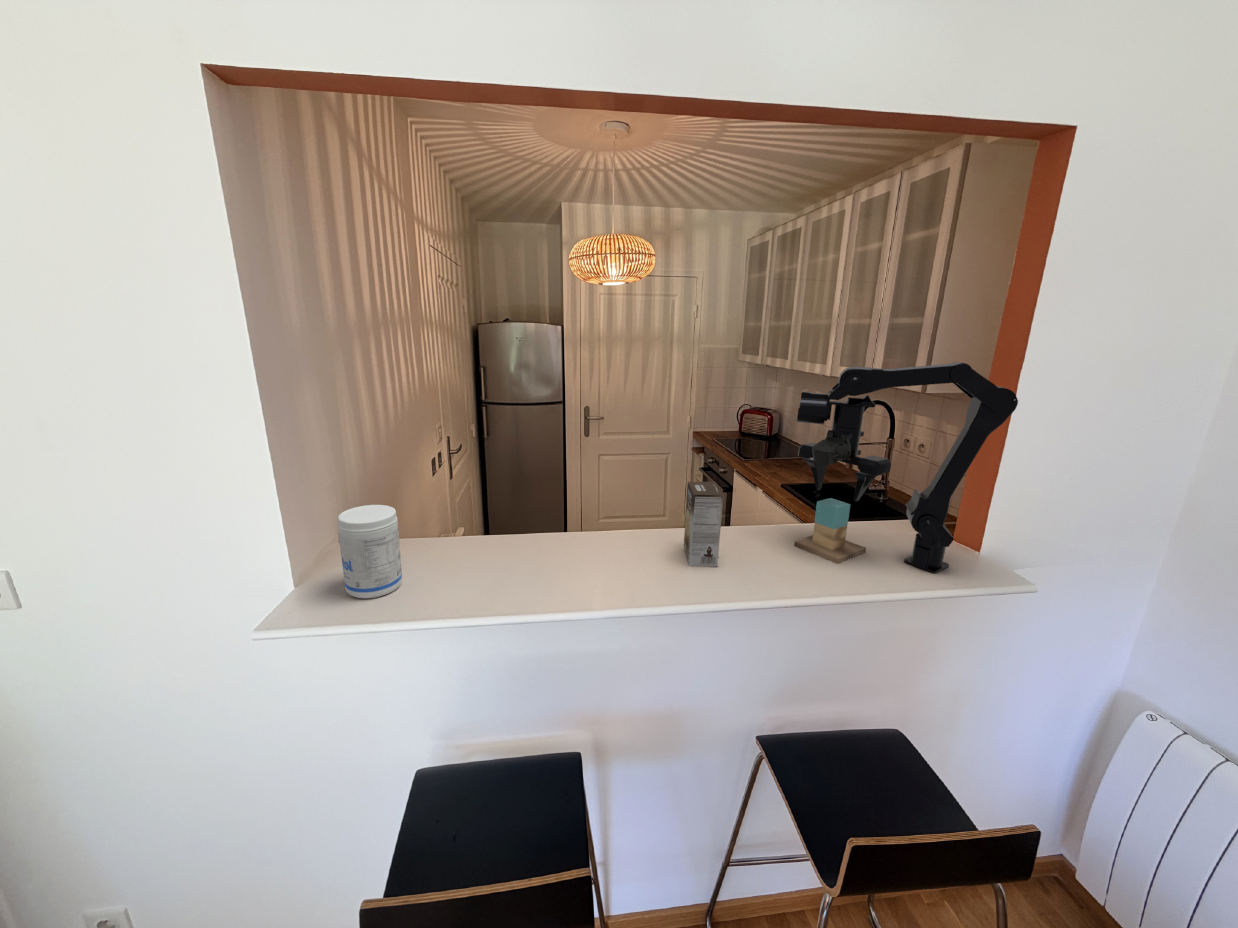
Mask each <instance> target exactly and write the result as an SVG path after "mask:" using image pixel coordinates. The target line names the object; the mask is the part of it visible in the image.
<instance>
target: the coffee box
mask: <svg viewBox="0 0 1238 928" xmlns="http://www.w3.org/2000/svg"><path fill="white" fill-rule="evenodd" d="M686 488H687V490H686V501H685V502H686V504H685V505H686V506H685V518H684V519H685V520H684V522H685V523H684V533H683V535H684V536H683V550H684V553H685V558H686V561H687V564H688V566H689V567H697V568H698V567H699V568H700V567H702V568H703V567H704V568H705V567H708V568H709V567H711V568H712V567H713V568H717V567H718V561H719V551H720V550H719V549H720V540H721V530H722V529H721V528H722V518H723V507H724V494H723V491H721V489H720V487H719V485H718V483H717V482H716V481H687V487H686Z"/></svg>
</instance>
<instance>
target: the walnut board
mask: <svg viewBox="0 0 1238 928" xmlns="http://www.w3.org/2000/svg"><path fill="white" fill-rule="evenodd" d="M812 540H813V534H812V535H810V536H806V537H803V538H800V539H798V540H795V541H793V542H794V543H793V547H796V548H798V549H801V550H803V551H805V552H808V553H810V554H811V555H814V554H815V555H814V556H817V555H818V556H817V557H819V556H820V557H819V558H822V559H824V560H827V561H829V562H831V561H832V563H834V564H837V565H839V564H842V563H843V561H844V562H846V561H848V559H849V560H851V559H854V558H856V557H858V556H860V554H861V555H863V554H865V553H866V551H867V548H866V547H865V546H863V545H859V544H857V543H854V542H851V541H848V540H846V539H845V545H844V546H842V547H839V548H836V549H834V550H830V549H827V548H825V547H822V546H820V545H817V544H815V543H812ZM857 555H858V556H857ZM853 557H854V558H853ZM850 558H851V559H850Z"/></svg>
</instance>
